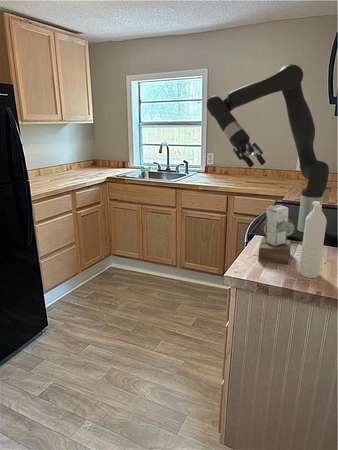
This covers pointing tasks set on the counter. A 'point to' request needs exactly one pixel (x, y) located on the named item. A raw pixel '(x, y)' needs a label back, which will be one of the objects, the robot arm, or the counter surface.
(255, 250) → the counter surface
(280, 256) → the walnut block
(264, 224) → the tin
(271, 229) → the syrup box
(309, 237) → the water bottle
